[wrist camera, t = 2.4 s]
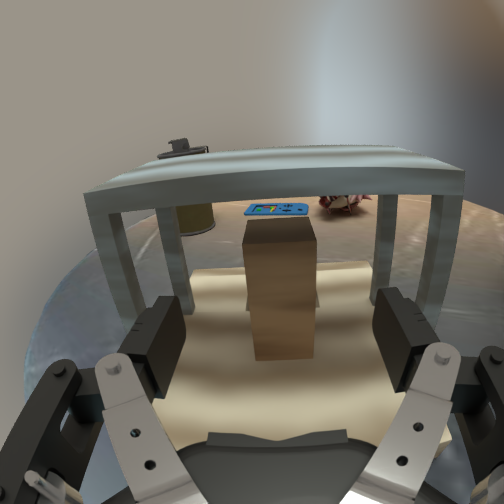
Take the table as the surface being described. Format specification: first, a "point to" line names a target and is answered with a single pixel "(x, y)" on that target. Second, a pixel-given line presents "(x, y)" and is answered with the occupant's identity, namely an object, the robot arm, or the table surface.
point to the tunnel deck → (236, 297)
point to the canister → (196, 215)
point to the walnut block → (281, 286)
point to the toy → (342, 201)
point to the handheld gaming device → (277, 209)
